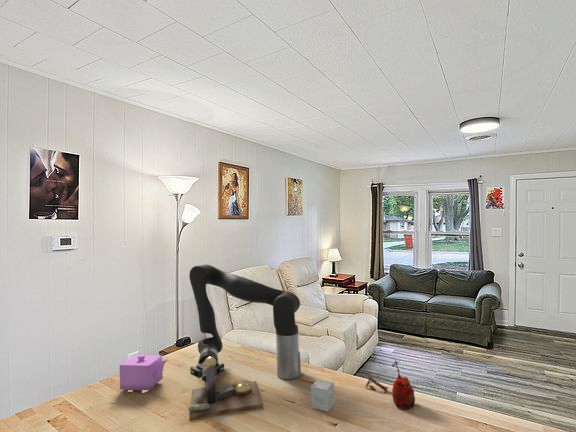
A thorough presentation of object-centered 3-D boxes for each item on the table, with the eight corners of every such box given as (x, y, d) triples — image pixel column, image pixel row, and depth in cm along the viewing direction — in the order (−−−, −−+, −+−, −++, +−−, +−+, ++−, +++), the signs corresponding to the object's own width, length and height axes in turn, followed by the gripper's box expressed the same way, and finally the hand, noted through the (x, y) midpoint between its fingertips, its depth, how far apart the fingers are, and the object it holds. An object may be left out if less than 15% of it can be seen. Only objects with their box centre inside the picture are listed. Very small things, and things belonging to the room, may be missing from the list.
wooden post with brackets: (364, 384, 130) (368, 373, 130) (384, 396, 127) (388, 386, 126) (362, 386, 129) (367, 375, 128) (383, 399, 125) (387, 388, 125)
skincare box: (335, 403, 119) (334, 382, 119) (327, 412, 113) (326, 389, 113) (318, 399, 122) (318, 378, 122) (311, 408, 116) (310, 385, 117)
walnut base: (256, 384, 135) (255, 376, 135) (263, 408, 117) (262, 398, 117) (191, 393, 129) (190, 384, 129) (188, 419, 112) (187, 409, 112)
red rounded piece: (406, 413, 111) (404, 366, 112) (387, 405, 117) (386, 360, 117) (419, 404, 116) (417, 359, 116) (400, 397, 121) (398, 354, 122)
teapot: (114, 393, 131) (113, 360, 132) (129, 381, 141) (129, 350, 142) (163, 395, 129) (162, 361, 129) (175, 382, 139) (175, 351, 139)
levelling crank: (245, 384, 131) (244, 343, 132) (255, 391, 126) (254, 348, 126) (201, 399, 121) (200, 355, 121) (210, 407, 115) (208, 361, 116)
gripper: (191, 352, 136) (186, 370, 119) (225, 349, 139) (225, 366, 122) (191, 371, 136) (186, 392, 119) (225, 367, 138) (225, 388, 121)
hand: (206, 379), depth 120 cm, fingers closed
